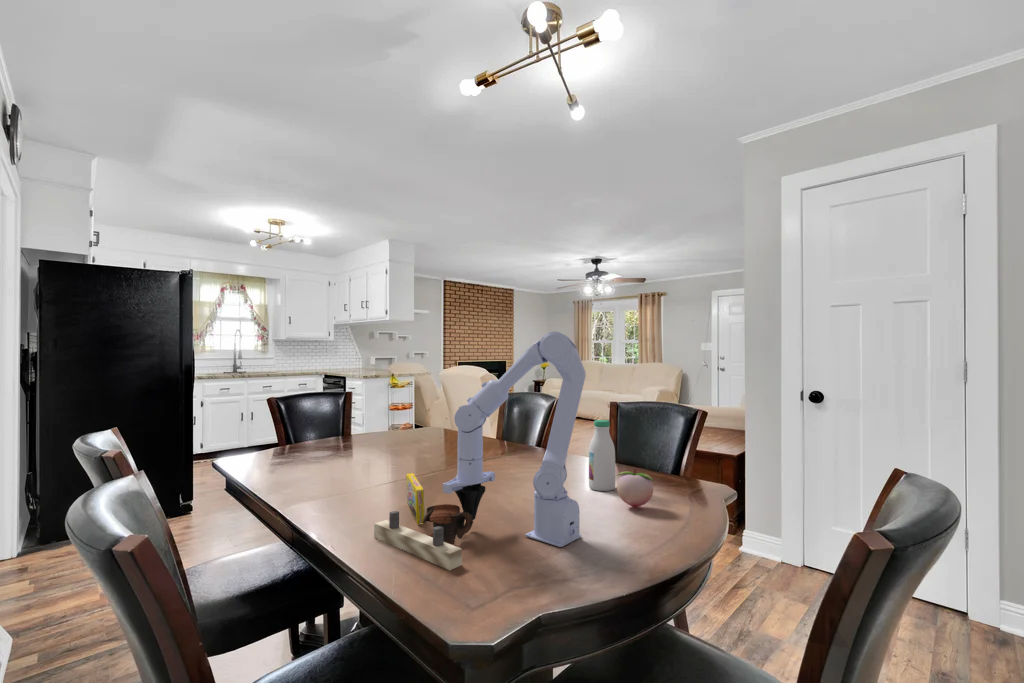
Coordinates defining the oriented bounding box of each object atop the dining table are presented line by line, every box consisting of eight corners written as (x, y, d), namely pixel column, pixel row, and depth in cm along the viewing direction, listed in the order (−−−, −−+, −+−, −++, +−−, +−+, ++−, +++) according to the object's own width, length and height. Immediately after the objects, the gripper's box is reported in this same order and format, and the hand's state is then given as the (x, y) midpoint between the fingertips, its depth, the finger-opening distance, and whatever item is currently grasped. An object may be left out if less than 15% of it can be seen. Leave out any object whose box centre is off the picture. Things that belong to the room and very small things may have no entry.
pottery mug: (412, 547, 98) (414, 506, 103) (436, 553, 106) (436, 514, 110) (464, 539, 95) (464, 497, 99) (485, 545, 102) (483, 506, 107)
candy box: (405, 505, 125) (406, 473, 125) (413, 504, 126) (414, 472, 126) (415, 525, 110) (416, 489, 110) (425, 524, 111) (425, 488, 111)
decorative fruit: (615, 511, 120) (614, 471, 121) (617, 502, 128) (617, 464, 128) (654, 515, 118) (653, 474, 118) (654, 505, 125) (654, 466, 126)
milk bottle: (619, 487, 143) (618, 420, 143) (609, 493, 136) (609, 422, 137) (594, 483, 147) (594, 418, 148) (584, 489, 140) (584, 420, 141)
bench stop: (461, 565, 89) (462, 532, 89) (449, 570, 87) (450, 536, 87) (386, 533, 104) (386, 505, 105) (374, 537, 102) (374, 509, 102)
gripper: (479, 450, 116) (479, 507, 115) (433, 460, 105) (433, 523, 104) (501, 454, 111) (501, 513, 111) (455, 465, 100) (455, 531, 100)
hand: (469, 519), depth 107 cm, fingers closed
